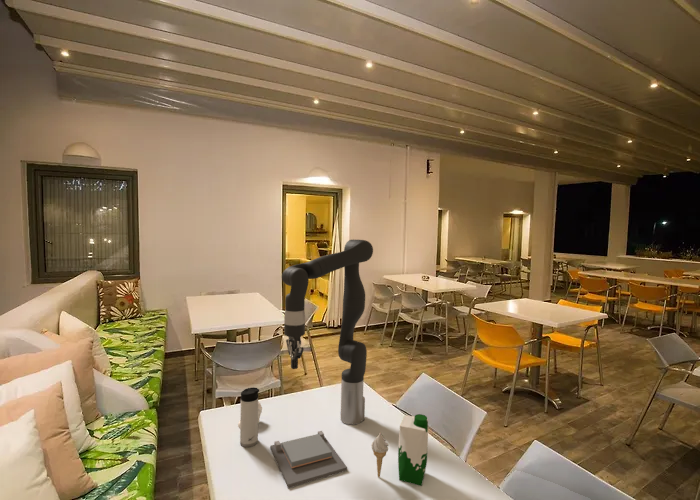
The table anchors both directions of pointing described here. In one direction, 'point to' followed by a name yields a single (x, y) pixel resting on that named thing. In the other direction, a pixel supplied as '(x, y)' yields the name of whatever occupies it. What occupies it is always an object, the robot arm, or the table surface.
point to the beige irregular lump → (258, 413)
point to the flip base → (307, 466)
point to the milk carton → (413, 448)
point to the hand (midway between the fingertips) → (294, 368)
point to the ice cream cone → (379, 450)
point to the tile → (306, 450)
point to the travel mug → (249, 417)
